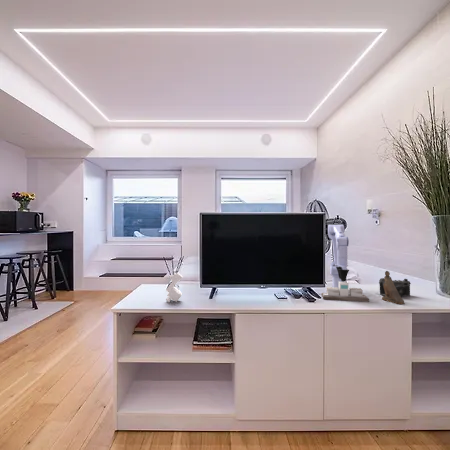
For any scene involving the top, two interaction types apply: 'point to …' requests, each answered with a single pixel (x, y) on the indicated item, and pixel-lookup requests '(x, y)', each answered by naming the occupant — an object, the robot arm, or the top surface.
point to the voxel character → (174, 288)
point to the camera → (397, 287)
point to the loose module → (343, 288)
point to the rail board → (353, 295)
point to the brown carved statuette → (391, 291)
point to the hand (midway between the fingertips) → (342, 280)
